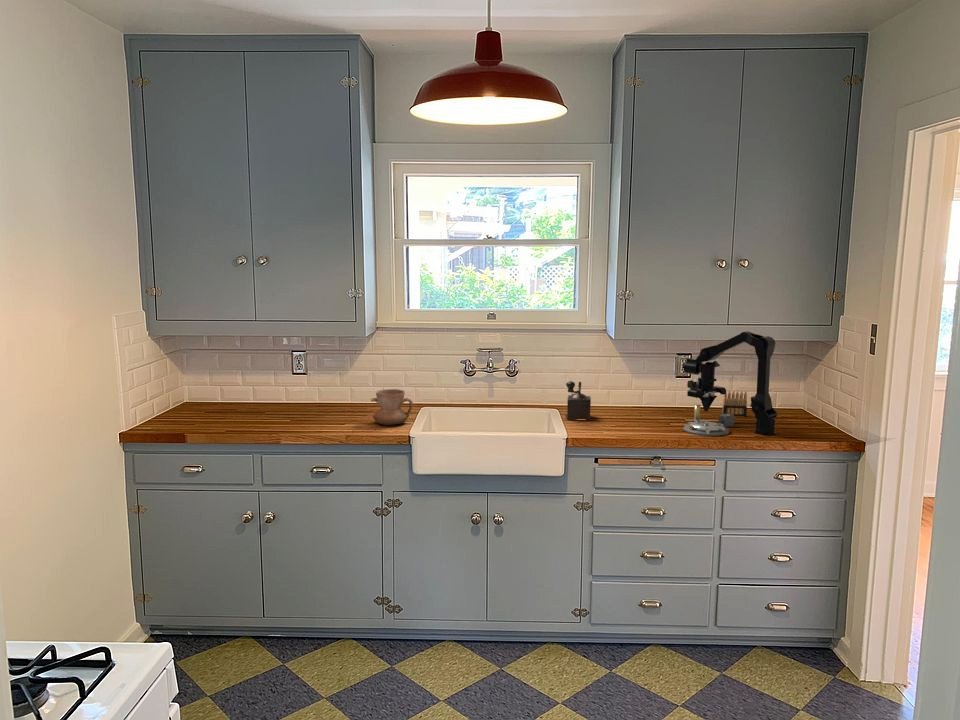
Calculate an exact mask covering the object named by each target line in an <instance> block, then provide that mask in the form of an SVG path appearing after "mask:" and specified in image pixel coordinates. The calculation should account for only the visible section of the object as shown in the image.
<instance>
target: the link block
mask: <svg viewBox="0 0 960 720" xmlns="http://www.w3.org/2000/svg"><path fill="white" fill-rule="evenodd" d="M720 423H721V424H723V427H725V428H729V426H731V427H734V426H735V417H734V415H733V414H729V413H728V414H722V413H721V414H719V415H718V424H720Z"/></svg>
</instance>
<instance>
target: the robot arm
mask: <svg viewBox="0 0 960 720" xmlns="http://www.w3.org/2000/svg"><path fill="white" fill-rule="evenodd" d="M744 343H746V344H748V345H750V346H751V347H754V352H755V354H756V358H757V372H756V373H757V375H756V377H757V378H756V393H755V395H754V396H751V397H750V406H749V408H750V407H751V412H753V413H754V414H753V415H754V417H755V420H756V421H755V430H754V431H753V433H754V432H755V433H754V434H758V433H760V434H759V435H762V434H764V436H766V435H768V436H772V434H773V435H776V434H777V432H776V431H775V426H776V419H777V416H778V414H779V413H778V412H777V411H776V410H775V409H774V407H773V403H772V402H773V401H772V397H771V395H770V392H769V391H770V373H771V372H770V370H771V358H772V357H773V354H774V352H775V348H776V339H774V338H773V337H772V336H770V335H768V336H764V335H762V334H757V333H753V332H752V331H749V330H747V331H742V332H740V333H739V334H737V335H735V336H732V337H731V338H729V339H727V340H724V341H723V342H721V343H718V344H715V345H710V346H707V347H704V348H701V349H700V350H699V351H700V352H699V355H697V357H696V358H690V357H688V358H686V361H685V363H684V365H683V372H684V373H685V374H689V375H695V376H697V375H698V376H699V375H700V377H698V379H697V381H694V380H688V381H687V383H686V384H687V385H686V386H687V388H688V391H686V393H687V395H686V396H687V397H691V398H694V399H695V398H696V399H700V402H701V404H702V409H703V411H704V412H708V411H709V409H710V408H711V405H712V404H713V402H714V401H715V399H716V398H718V396H717V395H715V394H717V393H720V395H724V394H726V392H727V389H726V387H723V386H717V385H715V382H717V378H715V374H716V372H715V371H716V368H717V367H719V368H720V366H721V365H720V363H718V361H717V360H716V359H718V358H720V356H722V355H723V354H724V353H725V352H727V351H729V350H732V349H733V348H736V347H737V346H739V345H742V344H744ZM713 360H714V361H713ZM711 361H712V362H711Z"/></svg>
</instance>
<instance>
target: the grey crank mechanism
mask: <svg viewBox="0 0 960 720" xmlns="http://www.w3.org/2000/svg"><path fill="white" fill-rule="evenodd" d="M701 408H702V407H701V404H694V409H693V410H694V415H693V416H694V417H693V421H688V422H687V425H690V426H689V429H695V430H699V431H705V432H716V431H725V428H726V427H725V428H723V424H721V423H720V424H719V422H713V421H707V420H702V419H700V418H701Z"/></svg>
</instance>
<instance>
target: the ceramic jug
mask: <svg viewBox="0 0 960 720" xmlns="http://www.w3.org/2000/svg"><path fill="white" fill-rule="evenodd" d="M405 393H406V391H405V390H403V389H399V388H398V389H397V388H388V389H386V388H385V389H381V390H377V391H376V392H375V396H376V397H372V398H370V402H375V403H377V404H379V406H380V409H379V410H377V411H376V412H375V413H373V414H372V418H373V420H374V421H375V423H377V424H380V425H382V424H383V426H397V425H400V424H403V423H405V422H406V421H407V420H408V418H409V417H410V413H411V412H412V410H413V407H414V402H413V400H412V398H409V397H405ZM404 397H405V398H404ZM405 402H408V403H409V408H408V410H407V412H406V411H405V410H403V409H402V408H401V407H402V405H403V404H404V403H405ZM396 424H397V425H396Z"/></svg>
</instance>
